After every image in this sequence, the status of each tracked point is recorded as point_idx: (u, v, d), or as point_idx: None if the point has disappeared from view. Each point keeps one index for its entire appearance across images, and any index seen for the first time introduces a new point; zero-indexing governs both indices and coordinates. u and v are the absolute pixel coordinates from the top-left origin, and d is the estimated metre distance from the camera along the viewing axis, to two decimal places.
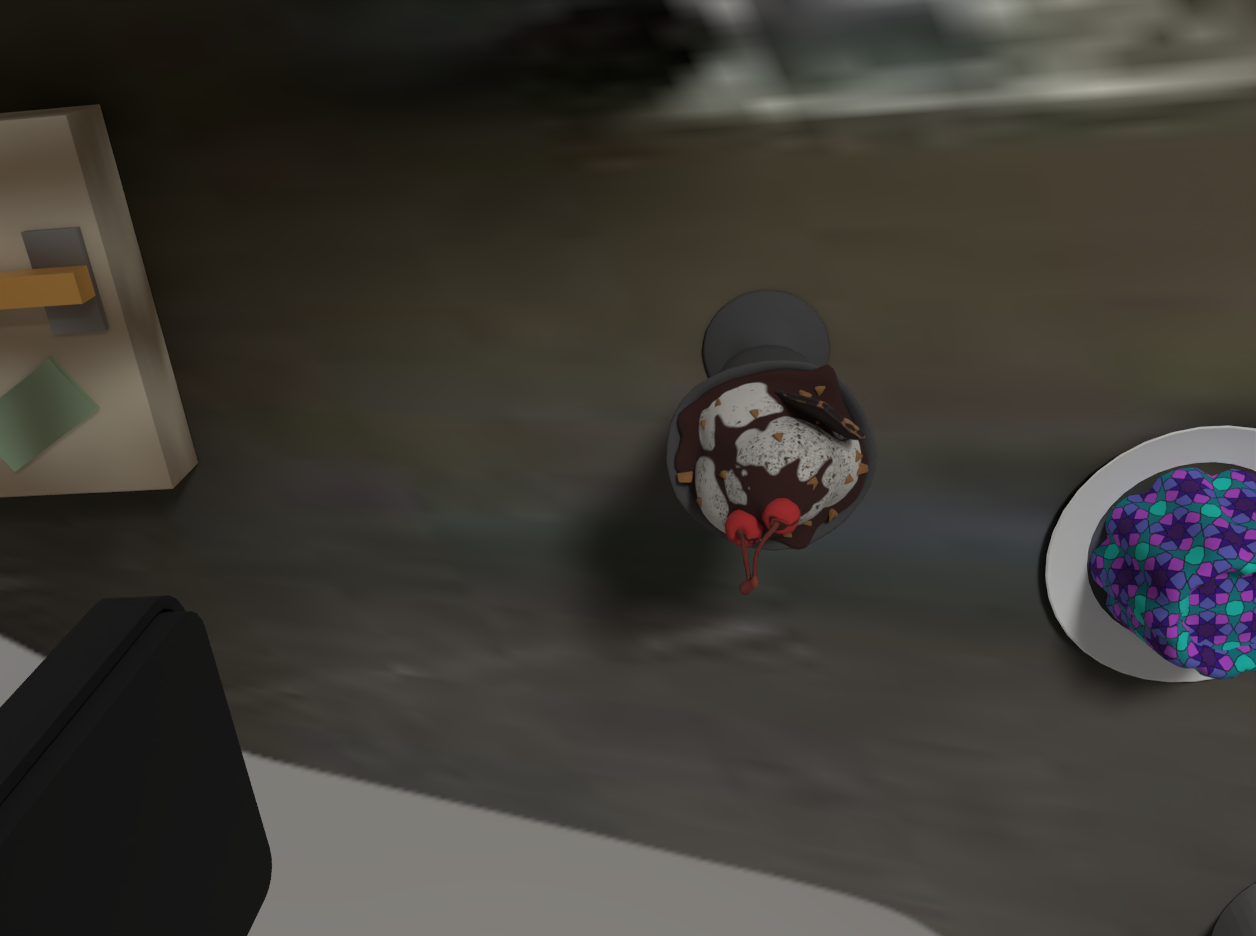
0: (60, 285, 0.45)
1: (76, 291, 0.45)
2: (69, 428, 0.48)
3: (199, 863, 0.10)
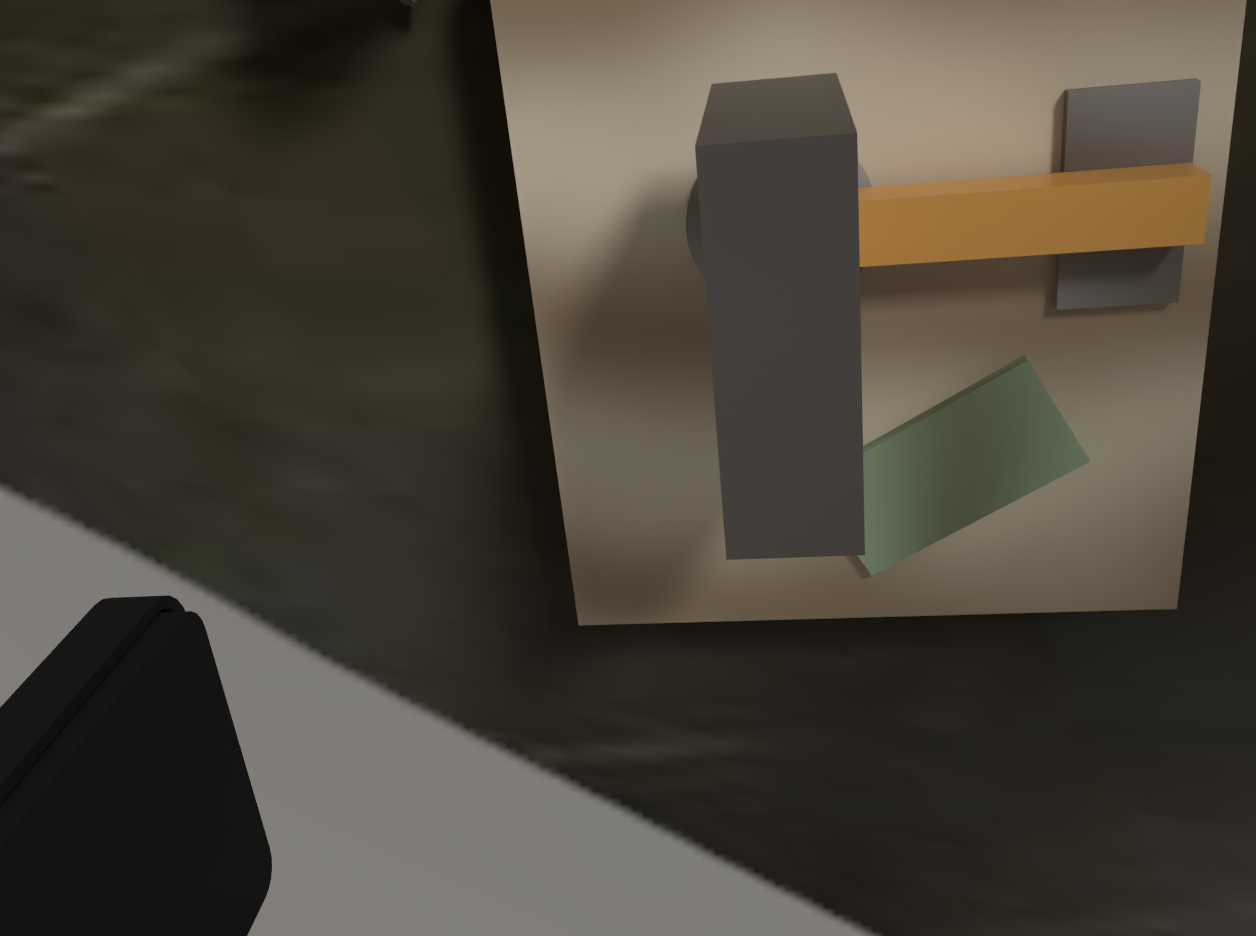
0: (1169, 204, 0.21)
1: (1200, 217, 0.21)
2: (1018, 496, 0.25)
3: (199, 863, 0.10)
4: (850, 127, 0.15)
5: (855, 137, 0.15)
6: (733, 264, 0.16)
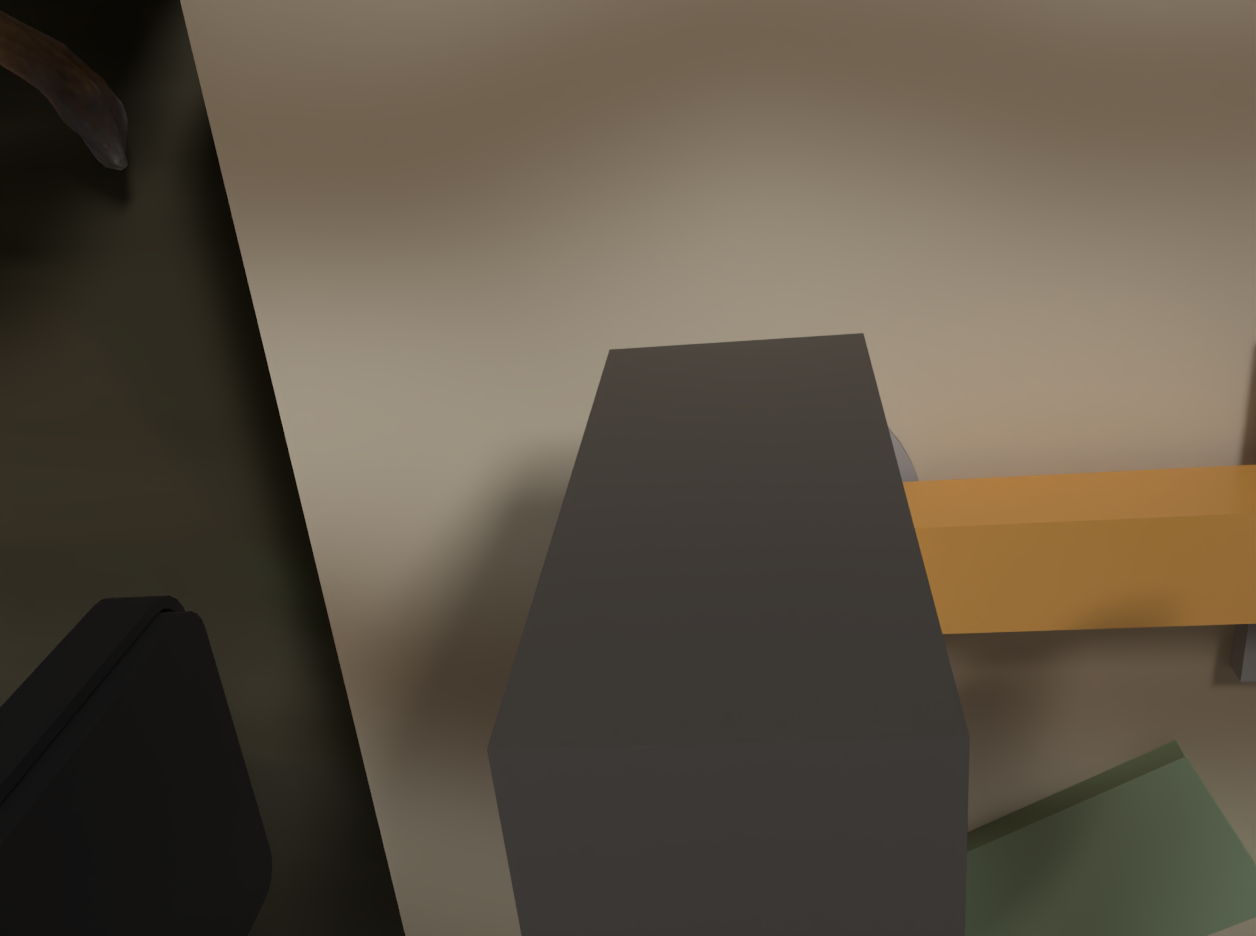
0: None
1: None
2: None
3: (198, 862, 0.10)
4: (940, 681, 0.05)
5: (962, 744, 0.05)
6: None
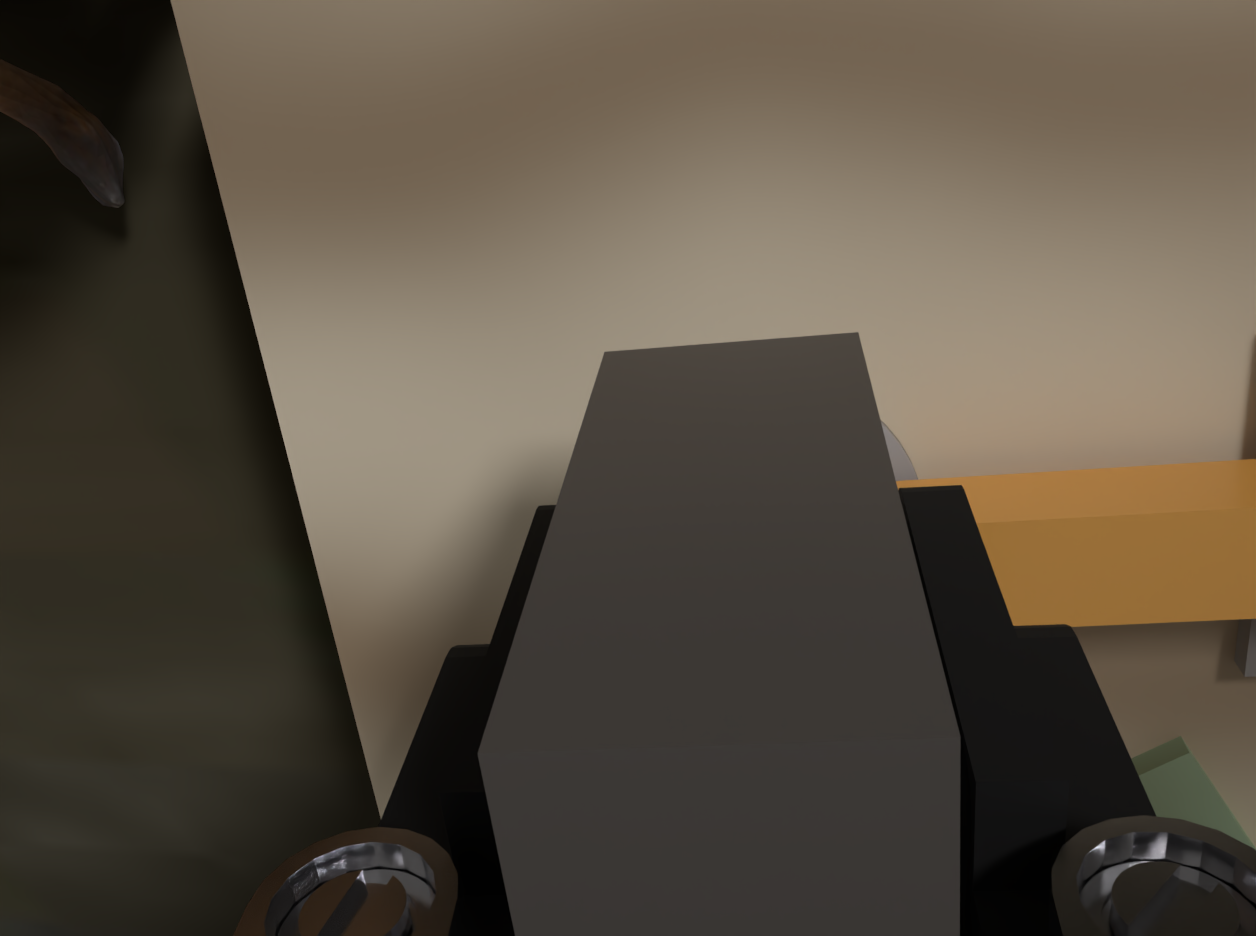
0: None
1: None
2: None
3: None
4: (932, 680, 0.05)
5: (953, 743, 0.05)
6: None
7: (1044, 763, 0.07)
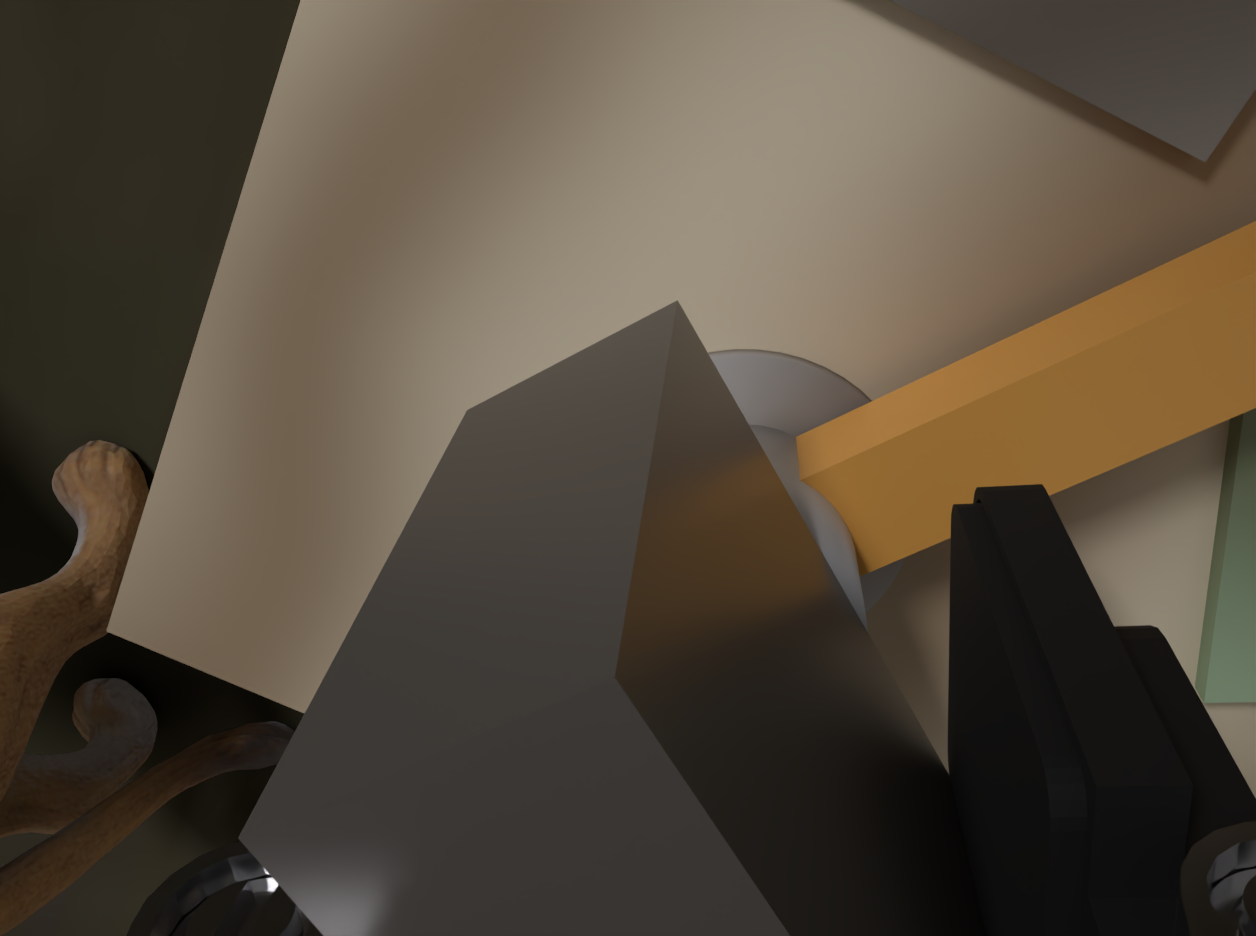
0: None
1: None
2: None
3: None
4: (613, 629, 0.05)
5: (619, 684, 0.05)
6: None
7: (1165, 767, 0.07)
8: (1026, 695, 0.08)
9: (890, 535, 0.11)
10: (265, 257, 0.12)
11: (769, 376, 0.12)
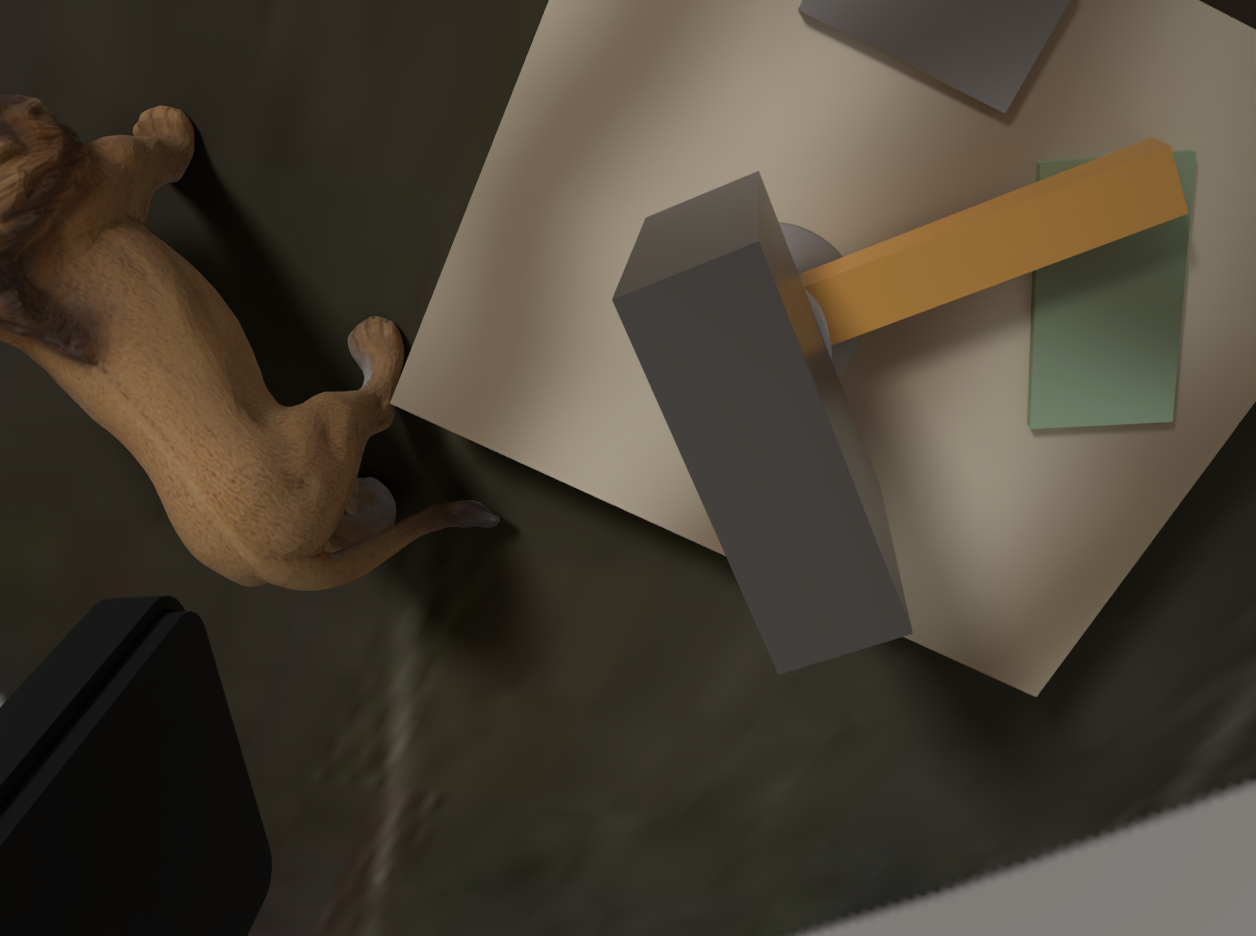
0: (1138, 186, 0.20)
1: (1175, 189, 0.20)
2: (1184, 240, 0.21)
3: (199, 863, 0.10)
4: (754, 236, 0.15)
5: (759, 245, 0.15)
6: (685, 397, 0.16)
7: None
8: None
9: (847, 323, 0.21)
10: (505, 172, 0.22)
11: None
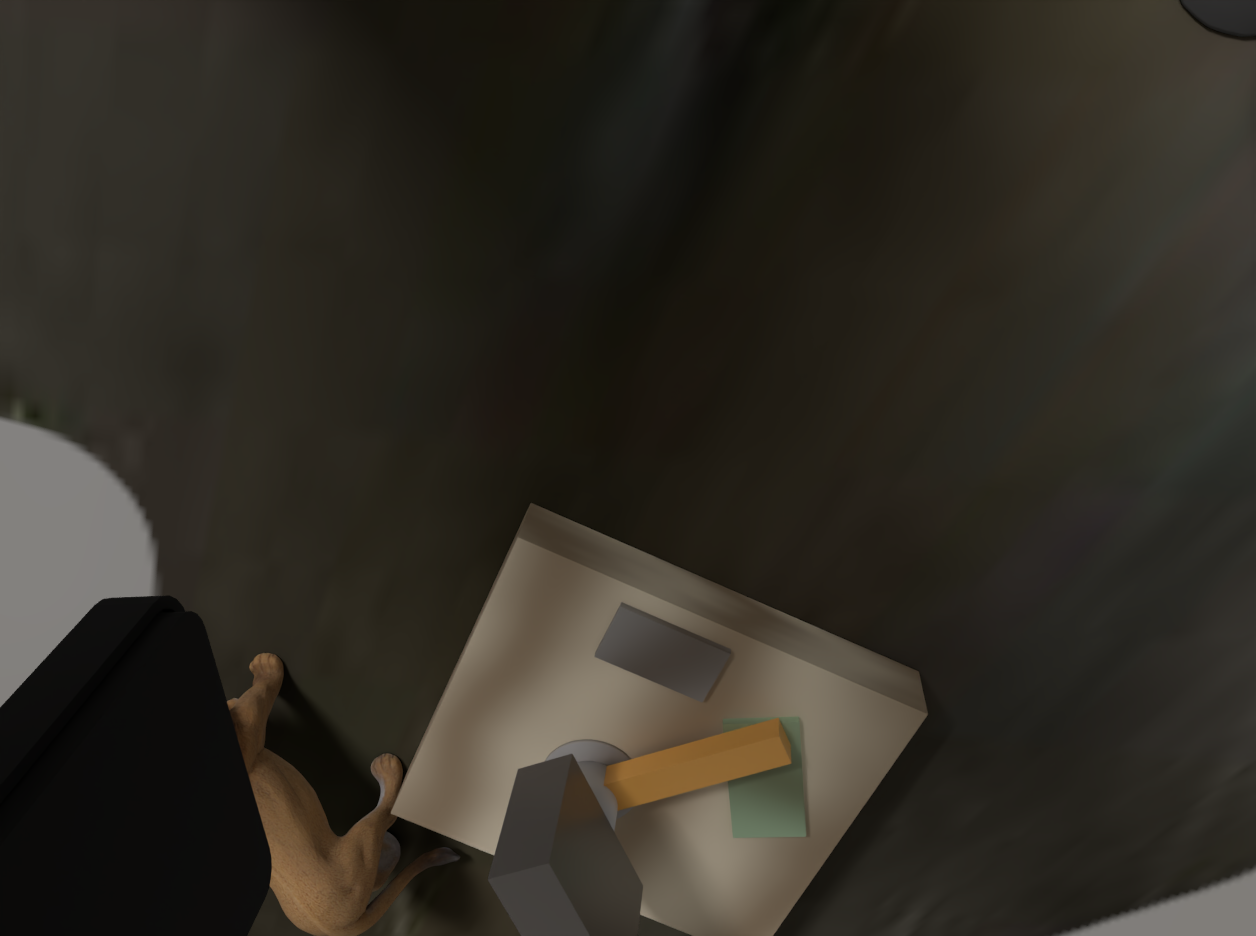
0: (765, 751, 0.40)
1: (783, 753, 0.40)
2: (799, 758, 0.41)
3: (199, 863, 0.10)
4: (549, 854, 0.35)
5: (549, 864, 0.35)
6: (521, 914, 0.36)
7: None
8: None
9: (627, 801, 0.41)
10: (449, 713, 0.42)
11: (594, 748, 0.42)
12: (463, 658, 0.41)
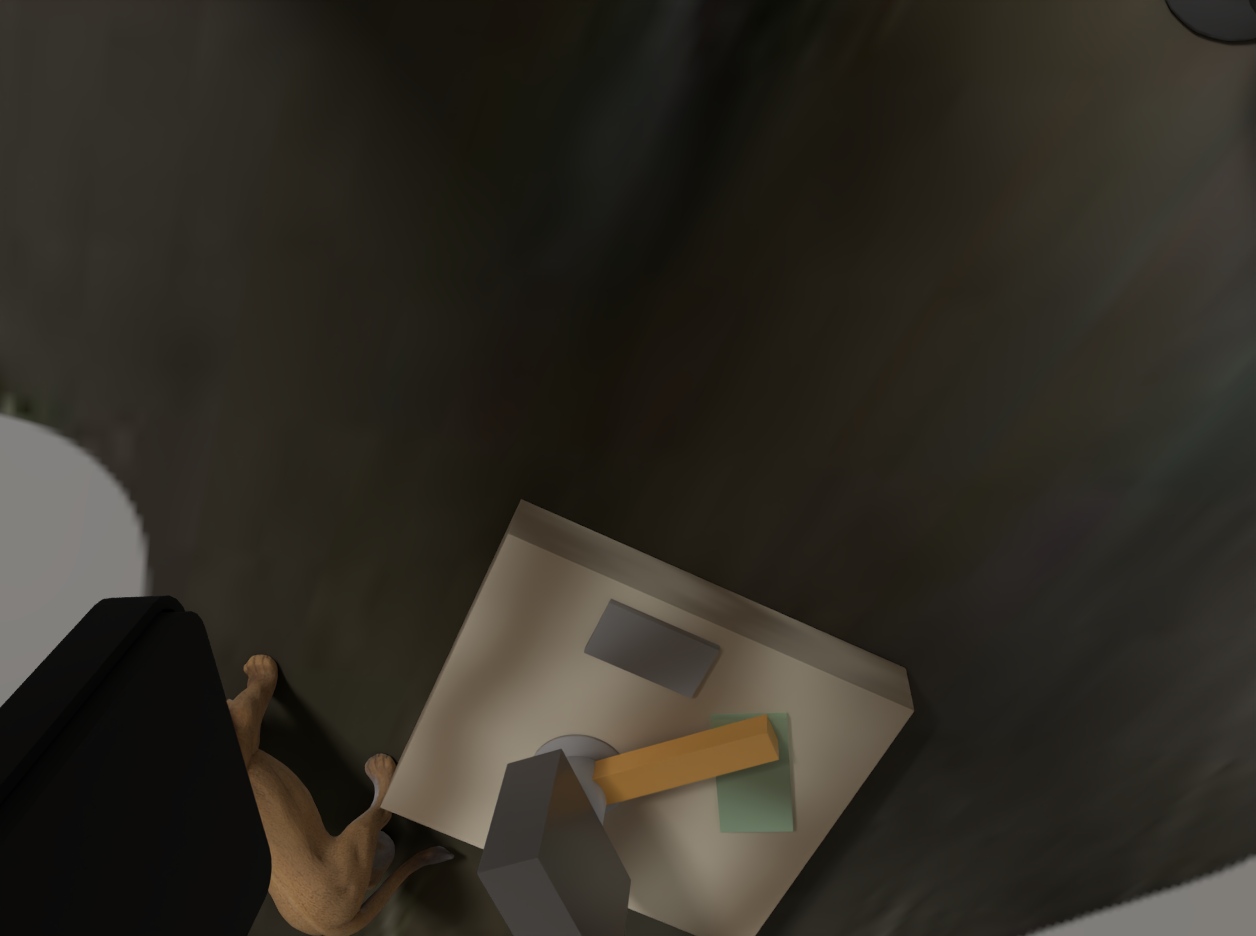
0: (753, 747, 0.40)
1: (771, 749, 0.40)
2: (787, 754, 0.42)
3: (199, 863, 0.10)
4: (538, 848, 0.35)
5: (538, 858, 0.35)
6: (510, 908, 0.36)
7: None
8: None
9: (615, 796, 0.42)
10: (439, 708, 0.42)
11: (583, 743, 0.42)
12: (453, 653, 0.41)
